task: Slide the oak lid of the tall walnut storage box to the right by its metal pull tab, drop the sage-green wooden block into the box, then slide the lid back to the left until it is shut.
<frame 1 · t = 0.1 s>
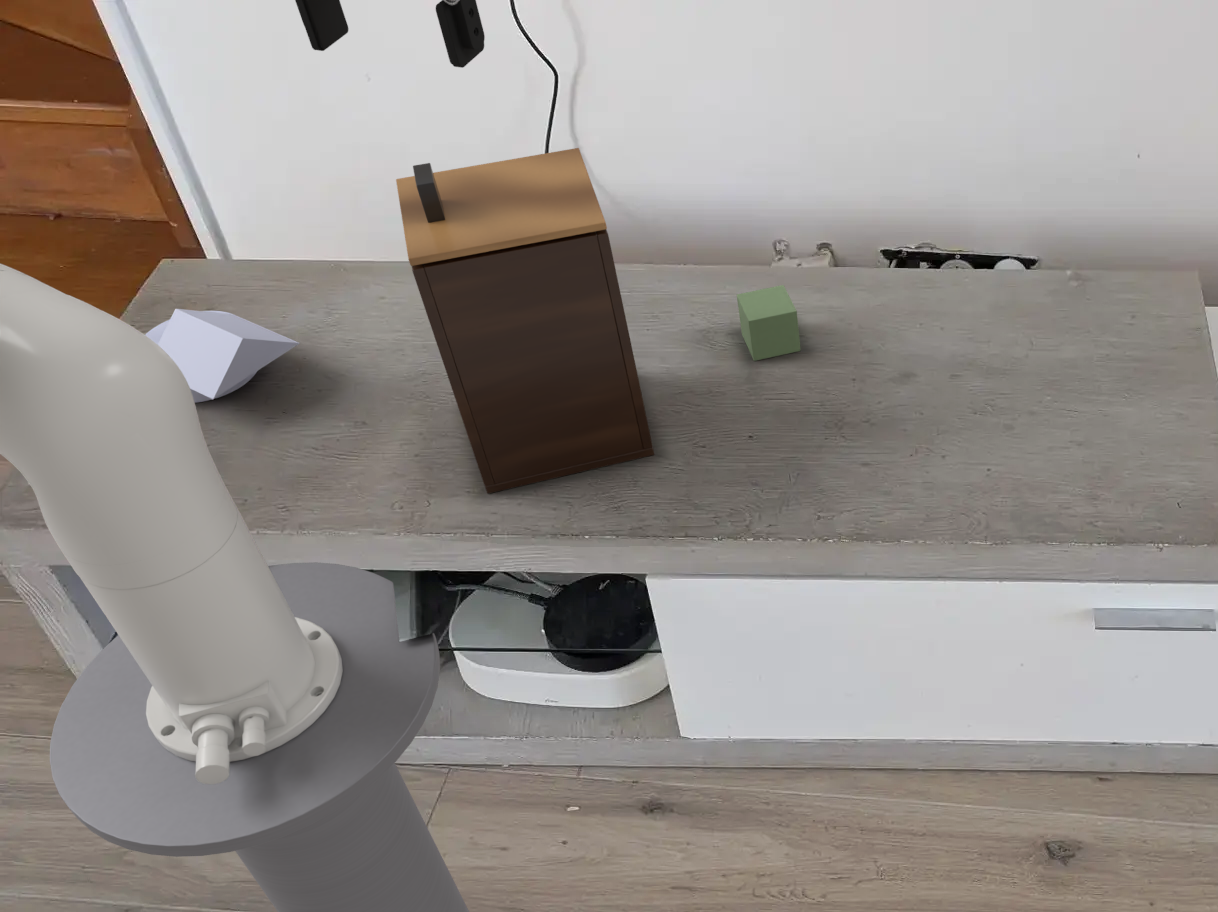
hand: (399, 49, 85), 35 cm above the table, tool pointing down, fingers open, 9 cm apart
lid: (494, 185, 96), point 23 cm above the table, slide at 0.0 cm
box: (561, 431, 113), on the table
white faceted chunk: (222, 380, 118), on the table
block: (771, 342, 122), on the table
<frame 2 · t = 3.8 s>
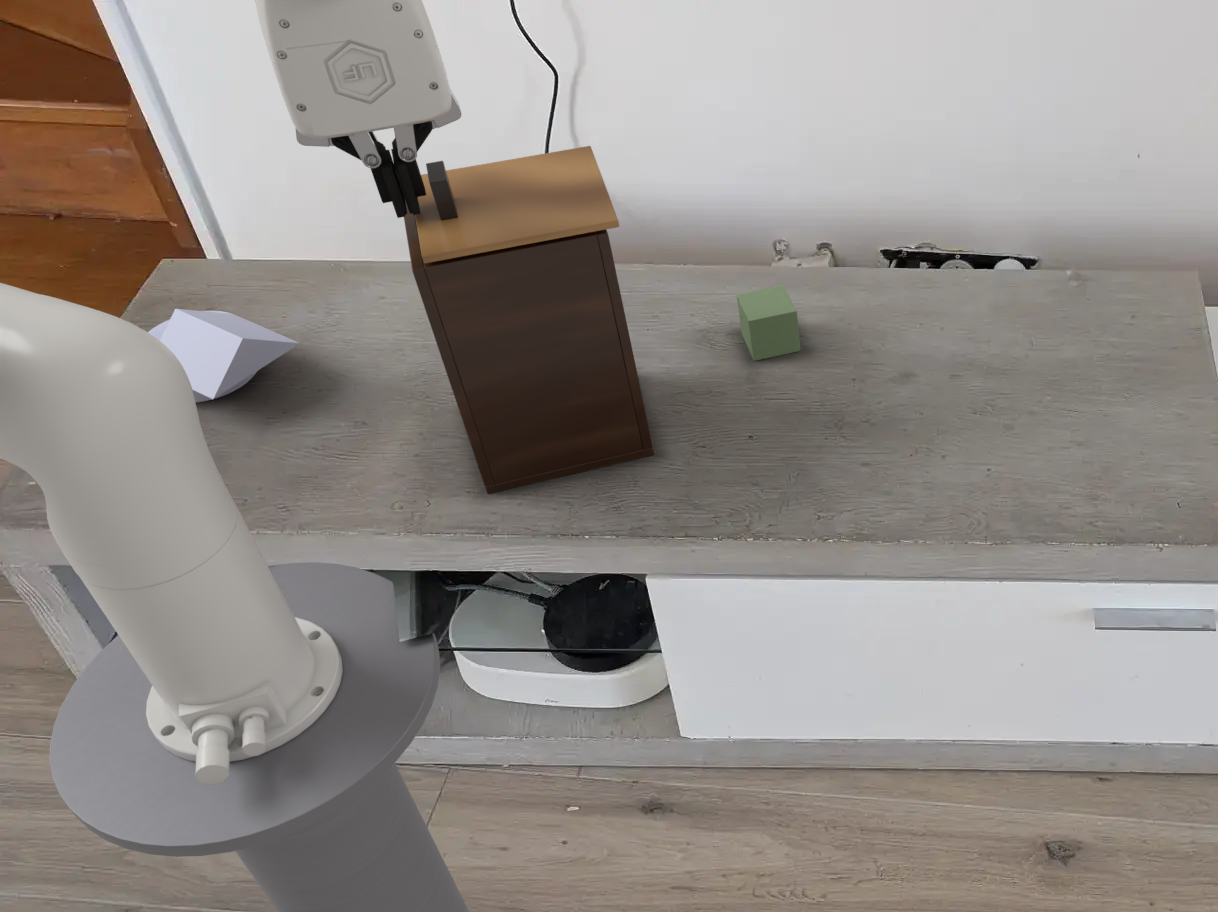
hand: (407, 206, 95), 23 cm above the table, tool pointing down, fingers closed
lid: (507, 183, 96), point 23 cm above the table, slide at 0.9 cm, touching gripper
everything else where it was.
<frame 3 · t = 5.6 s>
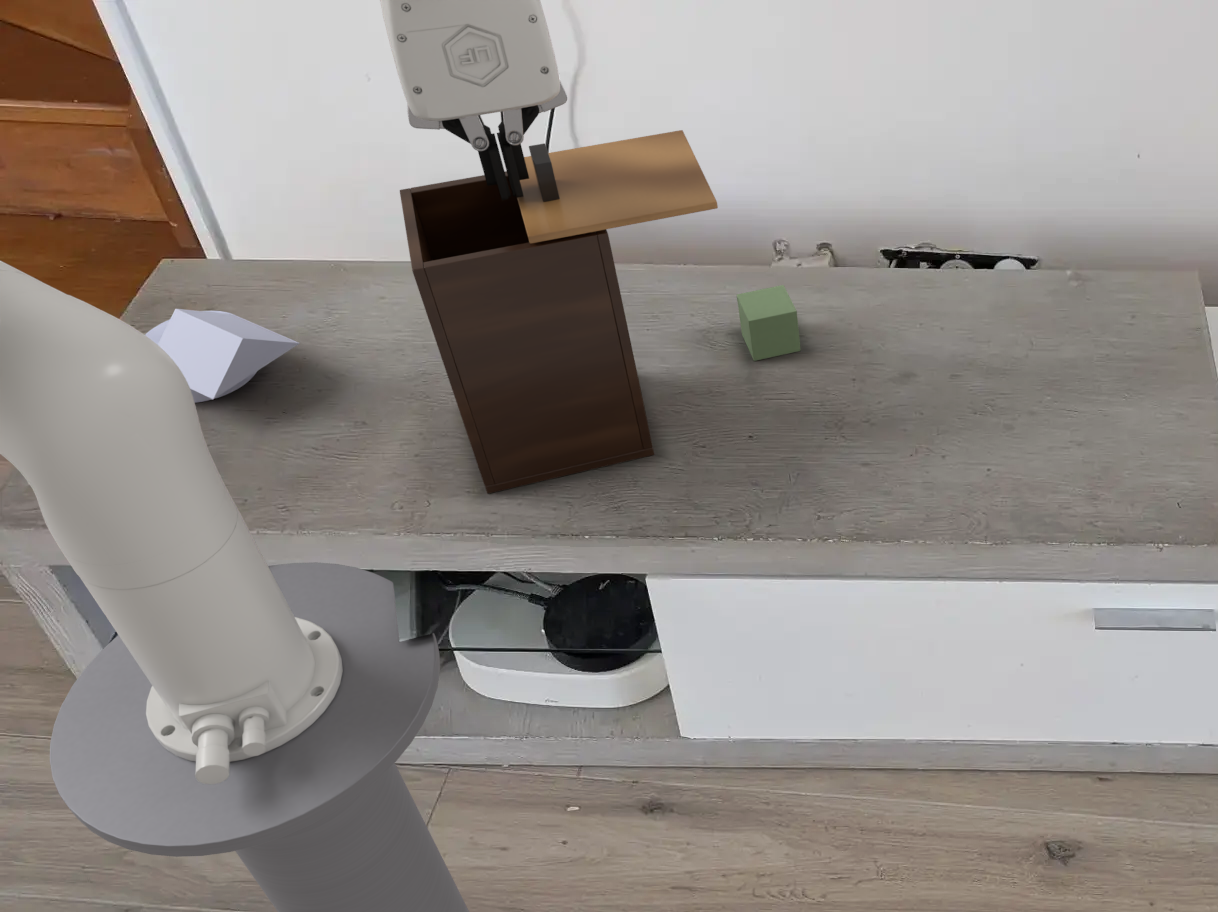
hand: (510, 189, 97), 23 cm above the table, tool pointing down, fingers closed
lid: (606, 165, 98), point 23 cm above the table, slide at 8.1 cm, touching gripper
everything else where it was.
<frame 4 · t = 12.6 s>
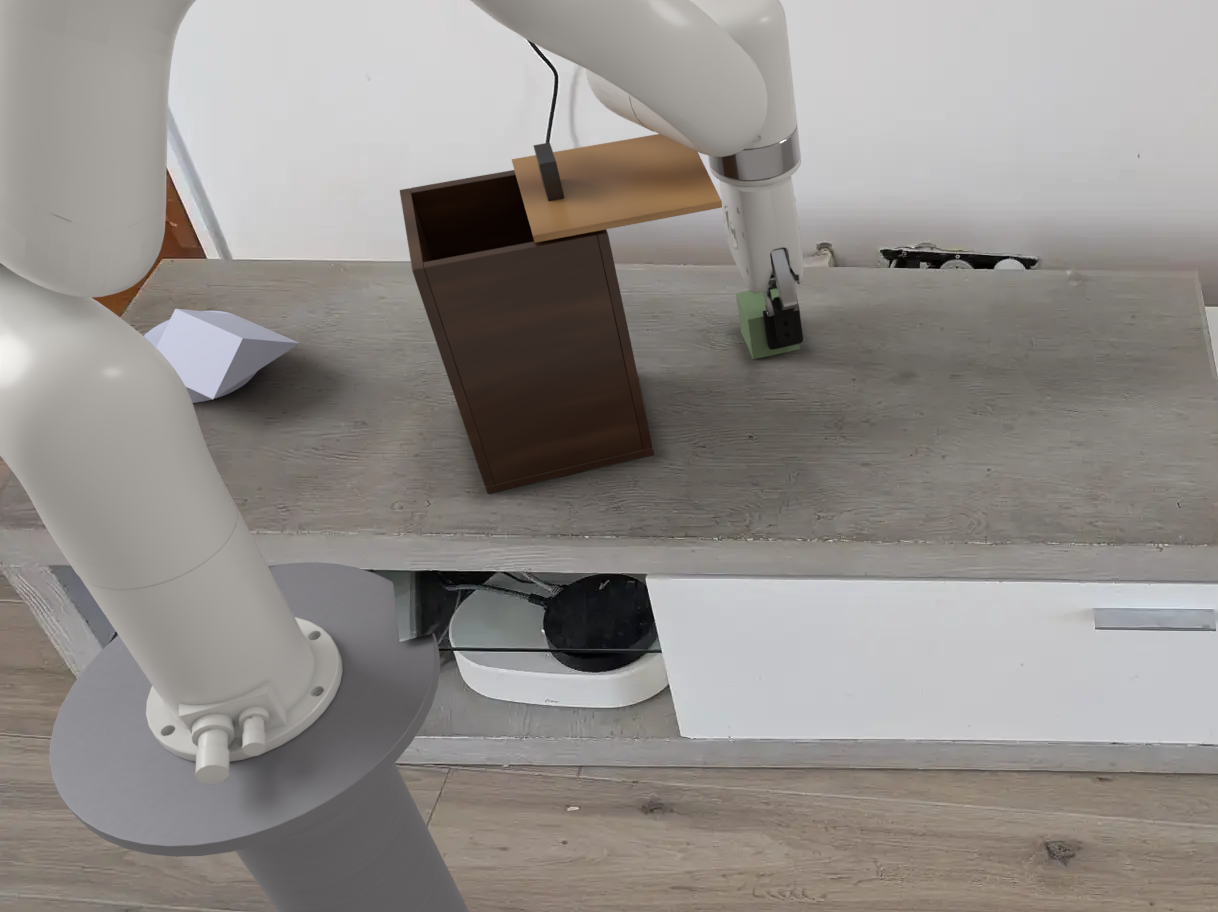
hand: (777, 327, 121), 1 cm above the table, tool pointing down, fingers closed on block, 4 cm apart
lid: (611, 164, 98), point 23 cm above the table, slide at 8.5 cm, touching arm
block: (770, 341, 122), on the table, touching gripper
everything else where it was.
when the fingers open (20 cm above the table, at t = 20.2 s): block drops 18 cm, resting on box.
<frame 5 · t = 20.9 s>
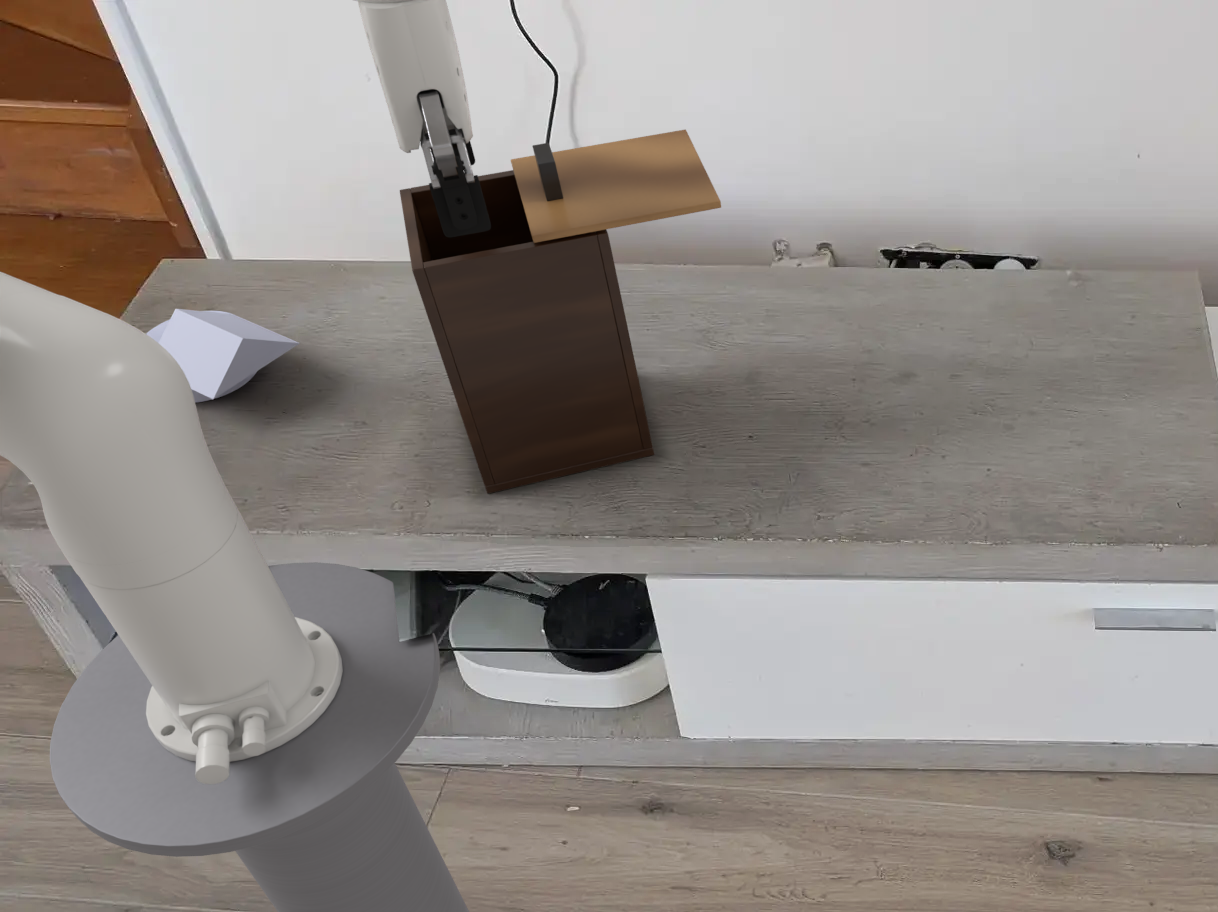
hand: (461, 198, 96), 23 cm above the table, tool pointing down, fingers open, 9 cm apart
lid: (610, 164, 98), point 23 cm above the table, slide at 8.4 cm
block: (518, 429, 112), point 1 cm above the table, touching box
everything else where it was.
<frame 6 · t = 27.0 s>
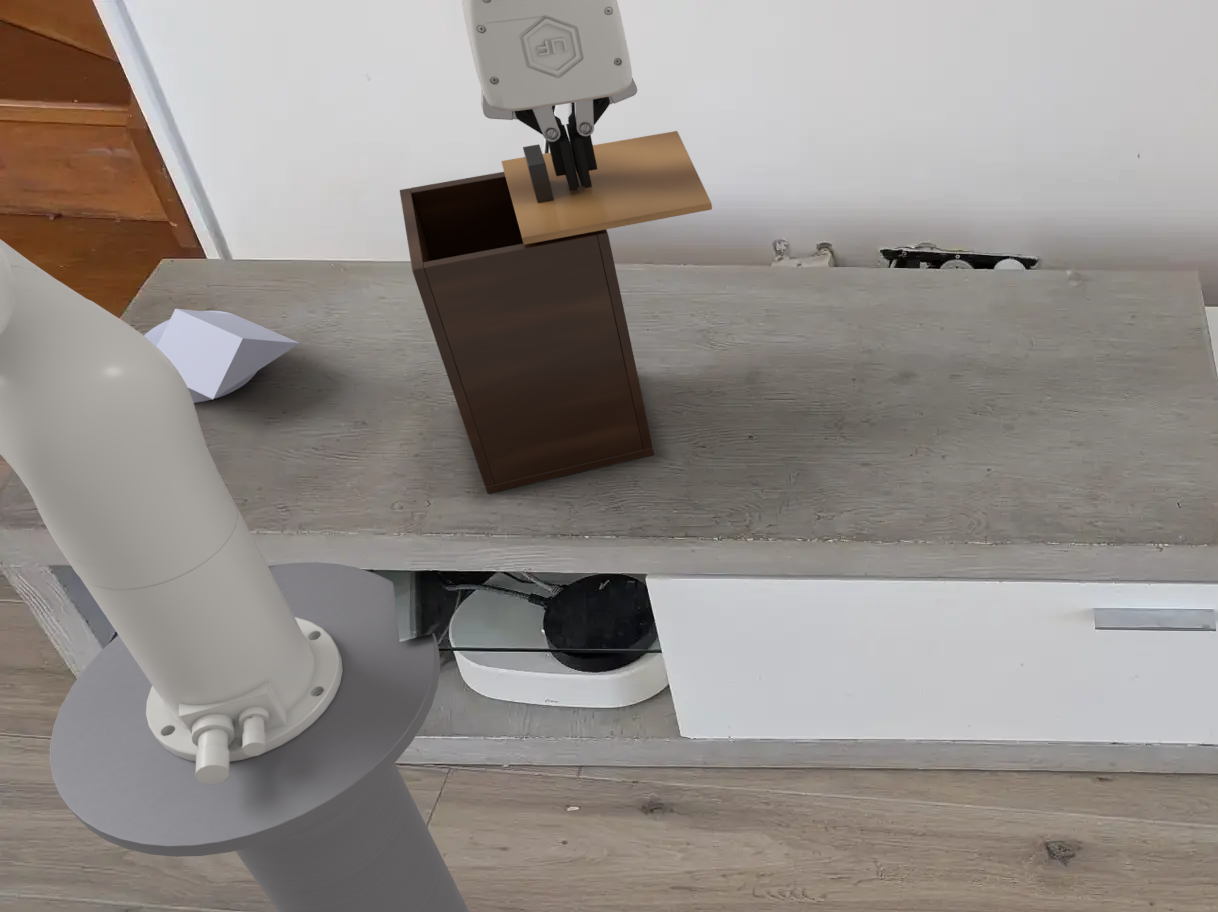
hand: (578, 179, 98), 23 cm above the table, tool pointing down, fingers closed
lid: (601, 166, 98), point 23 cm above the table, slide at 7.7 cm, touching gripper
everything else where it was.
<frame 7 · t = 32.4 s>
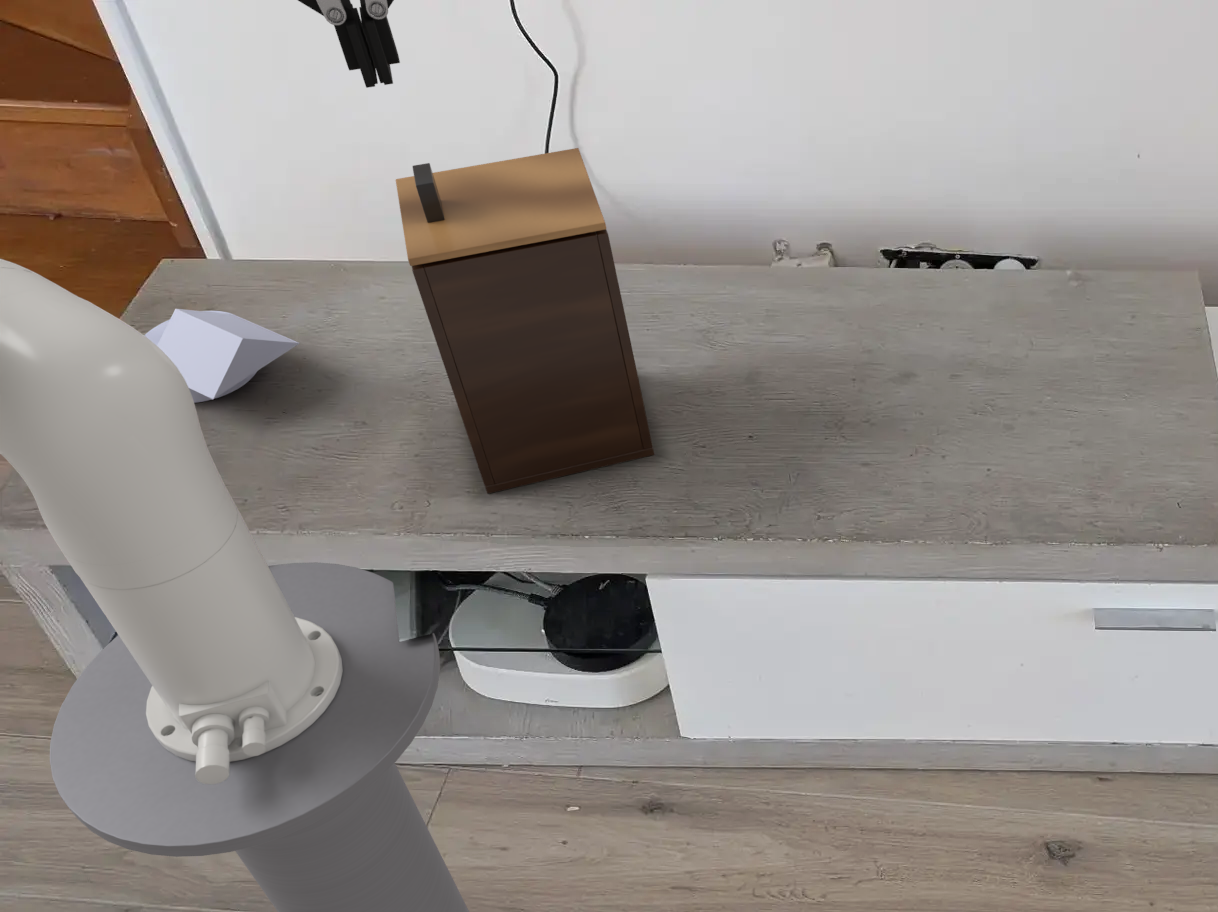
hand: (378, 76, 83), 35 cm above the table, tool pointing down, fingers closed
lid: (493, 185, 96), point 23 cm above the table, slide at 0.0 cm
everything else where it was.
at the end: lid pulled out 8.5 cm at the most during the clip, back to where it started at the end; block inside the target area on the box (3.4 cm from its centre), point 0.8 cm above the box's base; lid slide at 0.0 cm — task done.
